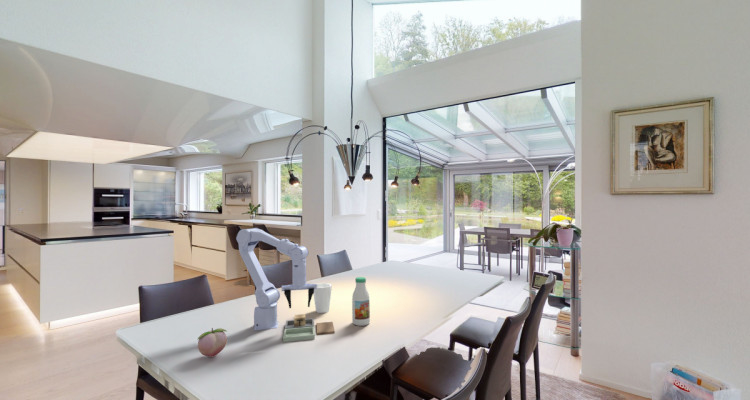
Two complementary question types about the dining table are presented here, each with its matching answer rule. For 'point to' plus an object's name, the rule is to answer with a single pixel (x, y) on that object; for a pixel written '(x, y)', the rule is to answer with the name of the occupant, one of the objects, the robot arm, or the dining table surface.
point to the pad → (325, 328)
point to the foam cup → (322, 297)
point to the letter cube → (299, 320)
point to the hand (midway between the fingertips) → (299, 306)
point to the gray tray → (291, 325)
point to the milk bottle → (360, 303)
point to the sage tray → (298, 334)
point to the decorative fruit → (212, 342)
